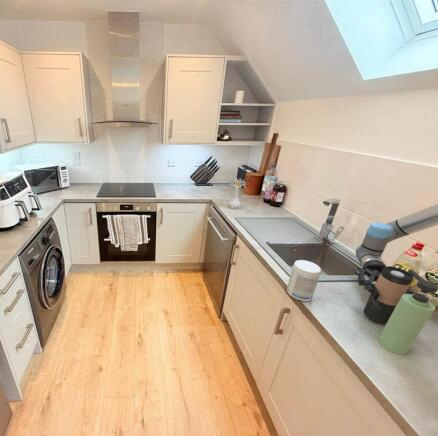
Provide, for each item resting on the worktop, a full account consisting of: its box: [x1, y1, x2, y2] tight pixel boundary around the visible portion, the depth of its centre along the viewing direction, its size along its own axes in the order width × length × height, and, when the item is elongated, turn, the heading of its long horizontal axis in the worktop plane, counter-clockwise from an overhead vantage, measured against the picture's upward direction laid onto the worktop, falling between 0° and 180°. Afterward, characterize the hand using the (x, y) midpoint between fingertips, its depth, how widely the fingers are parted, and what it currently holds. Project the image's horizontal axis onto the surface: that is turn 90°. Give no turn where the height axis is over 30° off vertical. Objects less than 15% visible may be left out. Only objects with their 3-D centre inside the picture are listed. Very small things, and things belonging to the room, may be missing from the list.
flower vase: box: [228, 177, 247, 210], centre depth 194 cm, size 13×18×25 cm
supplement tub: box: [286, 259, 322, 302], centre depth 99 cm, size 10×10×15 cm
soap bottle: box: [377, 292, 436, 356], centre depth 75 cm, size 7×7×21 cm
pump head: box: [407, 268, 438, 295], centre depth 72 cm, size 10×4×3 cm, turn 161°
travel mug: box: [363, 265, 415, 324], centre depth 85 cm, size 8×8×20 cm
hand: (392, 301), depth 81 cm, fingers closed on travel mug, 7 cm apart
